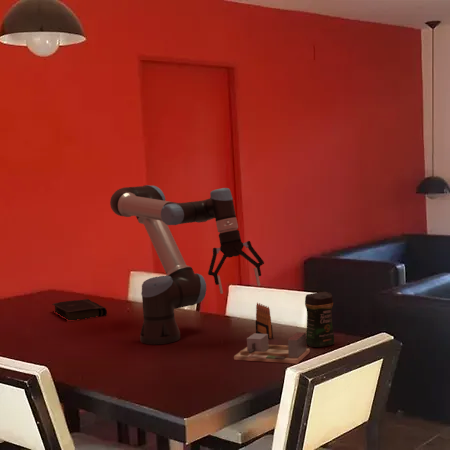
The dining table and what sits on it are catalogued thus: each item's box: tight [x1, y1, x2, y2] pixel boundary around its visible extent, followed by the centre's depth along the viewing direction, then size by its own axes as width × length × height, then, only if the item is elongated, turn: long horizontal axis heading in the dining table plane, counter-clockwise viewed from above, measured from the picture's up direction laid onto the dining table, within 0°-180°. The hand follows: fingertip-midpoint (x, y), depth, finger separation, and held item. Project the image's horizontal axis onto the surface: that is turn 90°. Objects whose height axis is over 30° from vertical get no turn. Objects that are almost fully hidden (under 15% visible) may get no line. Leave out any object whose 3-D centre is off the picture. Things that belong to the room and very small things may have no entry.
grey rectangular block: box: [246, 332, 269, 353], centre depth 248 cm, size 5×11×5 cm, turn 157°
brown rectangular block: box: [287, 331, 307, 358], centre depth 245 cm, size 3×10×6 cm, turn 157°
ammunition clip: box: [255, 302, 274, 340], centre depth 276 cm, size 11×2×12 cm, turn 24°
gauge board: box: [233, 344, 311, 365], centre depth 248 cm, size 22×14×2 cm, turn 67°
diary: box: [52, 298, 108, 320], centre depth 334 cm, size 19×25×5 cm
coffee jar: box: [304, 291, 335, 348], centre depth 258 cm, size 10×8×19 cm
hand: (240, 289), depth 262 cm, fingers open, 13 cm apart
